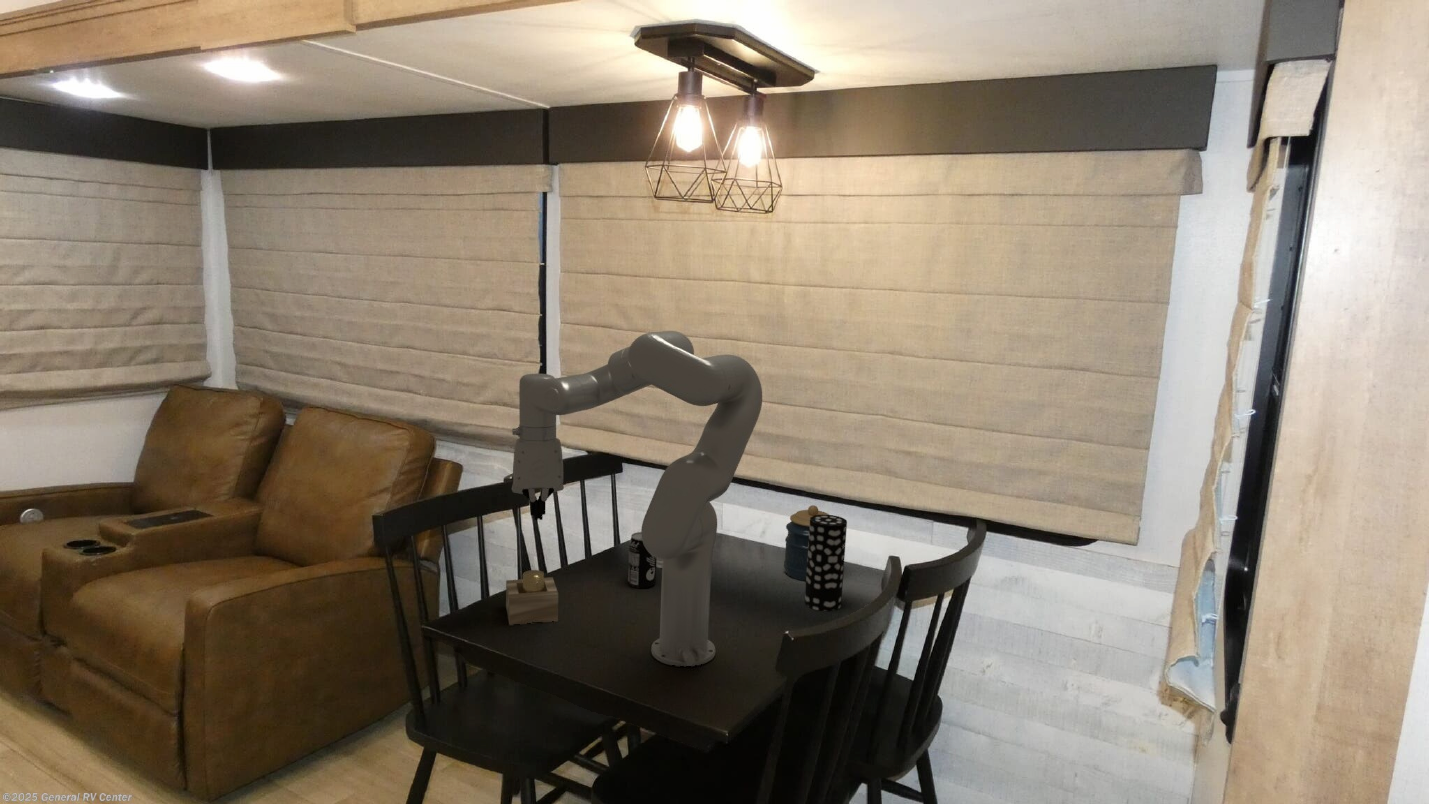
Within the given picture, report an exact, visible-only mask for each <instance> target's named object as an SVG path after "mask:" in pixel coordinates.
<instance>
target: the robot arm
mask: <svg viewBox="0 0 1429 804" xmlns="http://www.w3.org/2000/svg"><path fill="white" fill-rule="evenodd" d="M607 361H608V362H607V364H605V365H603V366H600V367H598V368H595V369H593V370H590V371H588V372H585V373H581V374H580V373H579V374H574V375H573V374H572V375H567V376H562V377H554V376H553V375H551V374H548V373H529V374H528V373H527V374H523V376H521V377H520V379H519V395H518V396H519V397H518V398H519V410H518V411H519V415H518V416H519V424H518V426H517V427H516V428H512V429H511V431H512V432H511V433H512V436H517V437H519V438H517V439H516V441H515V446H514V450H513V451H514V453H513V464H512V481H513V482H512V486H511V491H512V493H514V494H520V495H524V496H525V497H526V498H527V499H528V500H529V503H530V504H529V505H530V507H529V510H530V511H529V512H530V516H532V517H533V519H534V521H538V520H540V521H542V520H543V516H545V515H546V502H547V500H548V499H549V498H550V496H551V495H552V494H554V493H556V492H560V491H563V490H564V462H563V461H564V460H563V459H564V458H563V449H562V443H561V439H559V438H558V437H557V416H565V415H570V414H574V413H577V412H582V411H587V410H592V409H594V408H597V407H599V406H602V405H605V404H607V403H610V402H612V401H615V400H617V399H620V398H622V397H624V396H628V395H630V394H632V393H634V392H637V391H639V390H642V389H644V388H647V387H650V386H653V387H656V389H657V388H658V389H659V390H661V391H663V392H665V393H666V394H669V395H671V396H673V397H675V398H677V399H679V400H681V401H683V402H685V403H687V404H691V405H693V406H697V407H709V406H712V405H715V404H716V407H715V409H714V411H713V413H712V414H711V415H710V416H709V418H708V420H707V421H706V423H705V425H704V428H703V431H702V433H701V436H700V438H699V440H698V442H697V444H696V446H695V447H694V449H693V450H692V452H690V453H688V454H686V455H684V456H681V457H679V458H677V459H675V460H673V461H672V462H671V463H670V464H669V465H668V466H667V467H666V469H665V470H664V471H663V473H662V475H661V476H660V479H659V480H658V483H657V486H656V488H655V489H654V490H655V491H654V493H653V495H652V498H651V500H650V503H649V505H648V508H647V510H646V513H645V515H644V518H643V521H642V523H641V531H640V532H641V536H642V541H643V544H644V546H645V548H646V550H647V551H648V552H649V553H650V554H651V555H652V556H654V557H656V558H659V559H663V566H662V569H661V589H660V590H661V591H660V595H661V596H660V617H659V618H660V620H659V621H660V622H659V638H657V639H656V640H655V641H653V642H652V644H651V655H652V657H653V658H654V659H656V660H657V661H659V662H661V663H662V664H664V665H669V666H672V665H675V666H674V667H680V666H684V668H685V667H686V666H691V667H696V666H695V665H697V666H701V664H702V665H704V664H706V663H708V662H710V661H711V660H713V659H714V657H715V656H716V646H715V644H714V642H712V641H711V640H709V624H710V622H709V621H710V601H711V597H710V596H711V580H712V564H713V562H712V560H713V552H714V548H715V542H716V538H717V532H718V530H717V529H718V516H717V512H716V509H715V507H714V506H713V505H712V503H710V502H713V501H714V500H716V499H718V498H720V497H721V496H723V495H724V494H725V493H726V492H727V491H728V489H729V487H730V485H731V483H732V480H733V479H734V476H735V473H736V471H737V469H738V467H739V464H740V461H741V460H742V457H743V455H744V452H745V451H746V448H747V445H748V443H749V441H750V438H751V436H752V434H753V432H754V429H755V427H756V425H757V422H758V420H759V417H760V413H761V411H762V406H763V405H762V403H763V389H762V384H761V380H760V378H759V376H758V373H757V372H756V370H755V369H754V367H753V366H752V365H751V363H749V362H748V361H747V360H746V359H744V358H743V357H741V356H738V355H736V354H718V355H714V356H712V355H711V356H707V357H700V356H697V355H695V349H694V345H693V343H692V342H691V339H690V338H689V337H688V336H686V335H685V334H683V333H682V332H679V331H676V330H665V331H664V330H663V331H662V330H661V331H655V332H654V331H653V332H647V333H643V334H642V335H639V336H638V337H637V338H636V339H634V340H633V342H632V343H631V344H630V345H629V346H627V347H625V348H622V349H619V350H618V351H616V352H613V353H612V354H610V356H609V358H608V360H607ZM537 489H540V492H539V495H538V498H537V496H536V492H535V490H537ZM686 668H687V667H686Z"/></svg>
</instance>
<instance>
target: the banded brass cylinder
mask: <svg viewBox="0 0 1429 804" xmlns="http://www.w3.org/2000/svg"><path fill="white" fill-rule="evenodd" d="M544 578H545V573H544V571H543V570H538V569H537V570H536V569H531V570H527V571H524V572H523V573H522V579H523V593H533V592H544Z"/></svg>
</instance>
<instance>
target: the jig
mask: <svg viewBox="0 0 1429 804" xmlns="http://www.w3.org/2000/svg"><path fill="white" fill-rule="evenodd" d="M505 582H506V583H505V598H506V599H505V608H506V614H507V620H508V624H509V625H508V626H514V625H513V624H520V625H528V624H527V623H531V624H533V623H532V622H543V623H551V622H552V621H554V622H559V592H558V590H557V589H558V588H557V586H556V583H555V580H554V577H553V576H552V577H551V576H550V577H544V592H533V593H523V578H521V579H509V580H505Z"/></svg>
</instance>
